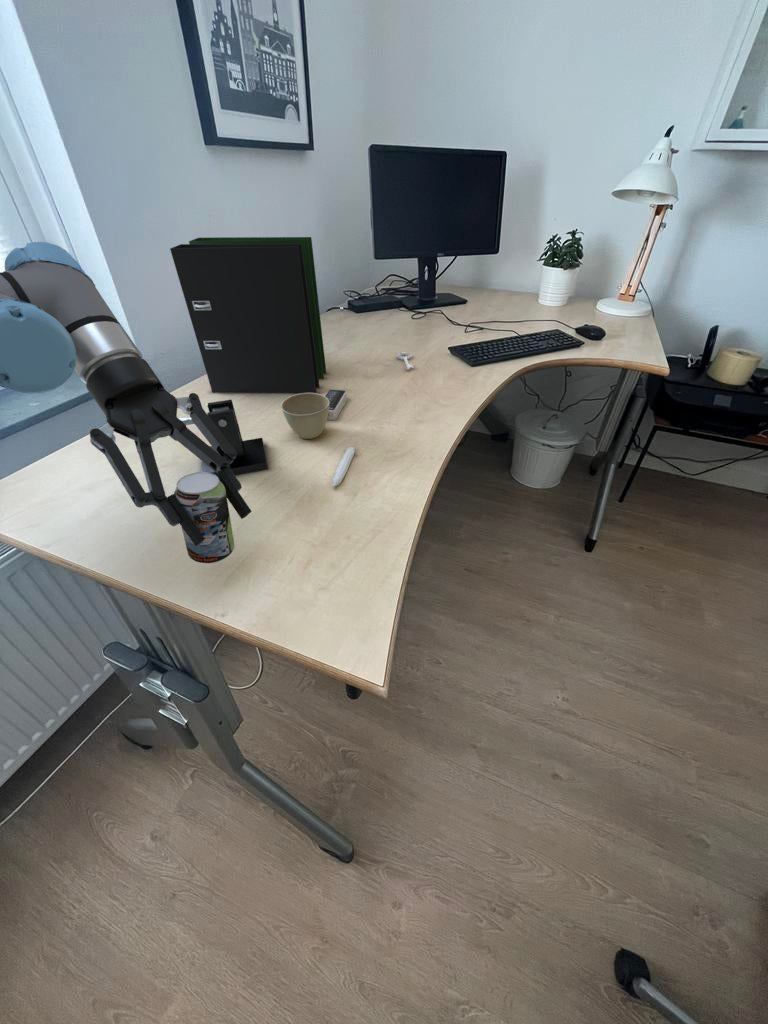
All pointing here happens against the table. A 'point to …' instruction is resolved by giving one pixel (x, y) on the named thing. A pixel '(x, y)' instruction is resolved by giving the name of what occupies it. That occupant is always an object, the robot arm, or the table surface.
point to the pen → (343, 466)
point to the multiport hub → (336, 402)
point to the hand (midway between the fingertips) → (224, 528)
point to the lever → (189, 421)
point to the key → (405, 359)
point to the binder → (254, 312)
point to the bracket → (236, 441)
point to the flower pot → (306, 413)
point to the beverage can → (206, 516)
